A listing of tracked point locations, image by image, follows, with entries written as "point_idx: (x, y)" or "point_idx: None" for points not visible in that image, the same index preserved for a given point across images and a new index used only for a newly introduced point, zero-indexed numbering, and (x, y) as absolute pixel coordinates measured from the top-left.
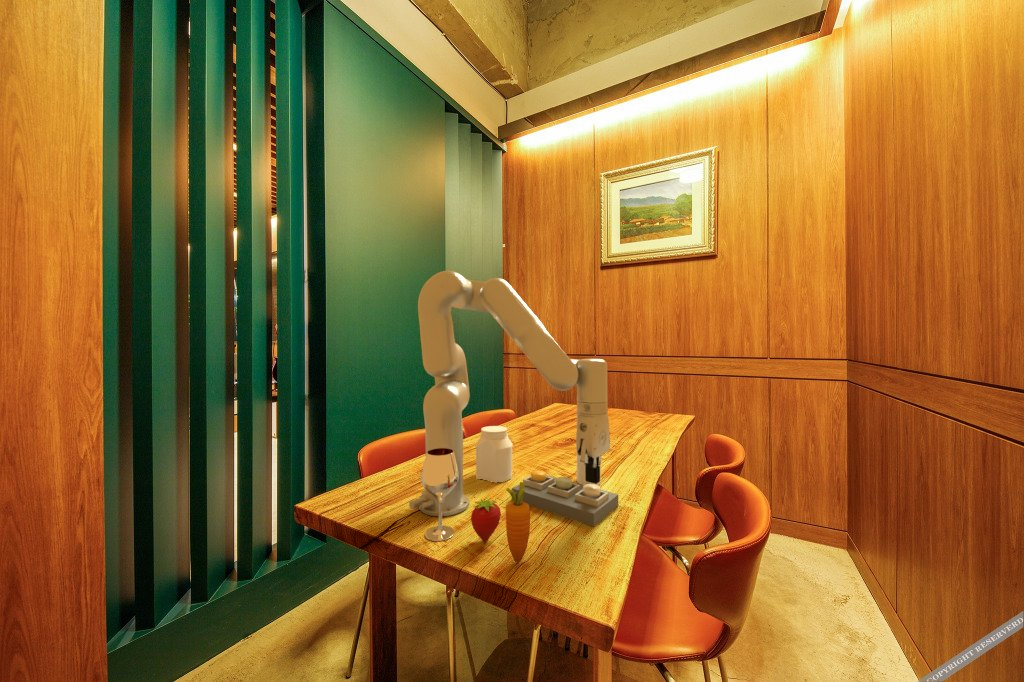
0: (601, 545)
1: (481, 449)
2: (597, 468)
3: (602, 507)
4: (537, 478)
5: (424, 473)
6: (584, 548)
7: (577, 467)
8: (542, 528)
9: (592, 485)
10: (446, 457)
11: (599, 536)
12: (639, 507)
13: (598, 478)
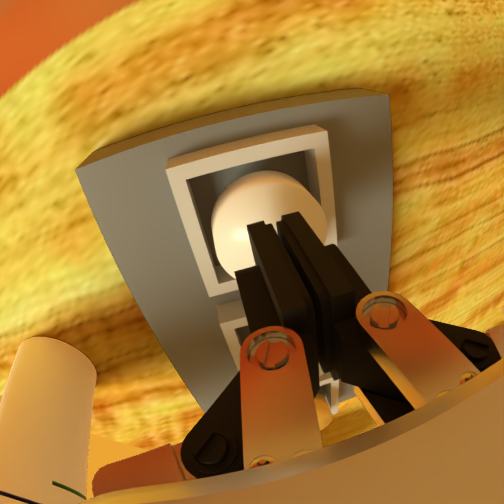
0: (431, 12)
1: None
2: (341, 287)
3: (295, 105)
4: (327, 405)
5: None
6: (469, 49)
7: (90, 424)
8: (454, 202)
9: (245, 255)
10: None
11: (396, 38)
12: (24, 93)
13: (276, 235)
